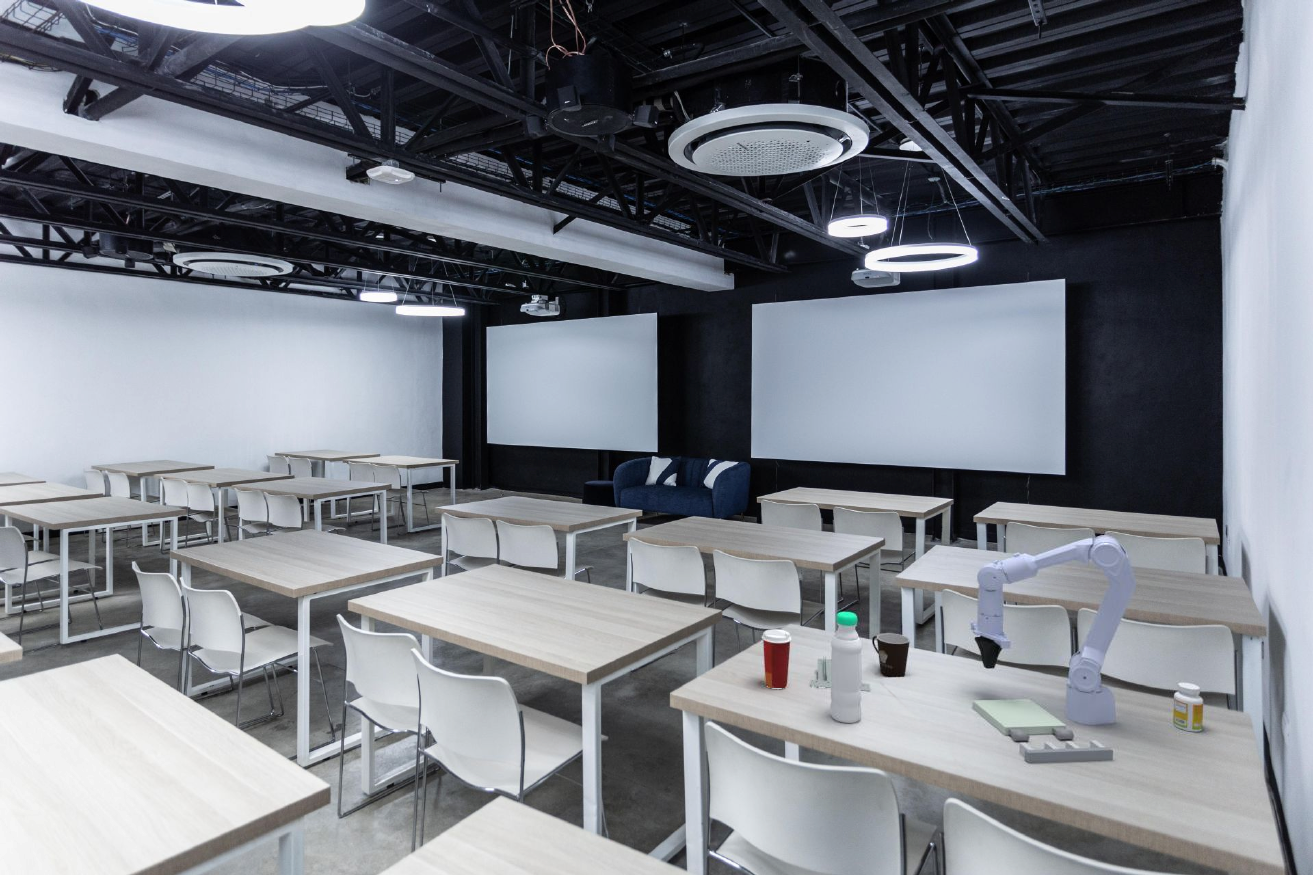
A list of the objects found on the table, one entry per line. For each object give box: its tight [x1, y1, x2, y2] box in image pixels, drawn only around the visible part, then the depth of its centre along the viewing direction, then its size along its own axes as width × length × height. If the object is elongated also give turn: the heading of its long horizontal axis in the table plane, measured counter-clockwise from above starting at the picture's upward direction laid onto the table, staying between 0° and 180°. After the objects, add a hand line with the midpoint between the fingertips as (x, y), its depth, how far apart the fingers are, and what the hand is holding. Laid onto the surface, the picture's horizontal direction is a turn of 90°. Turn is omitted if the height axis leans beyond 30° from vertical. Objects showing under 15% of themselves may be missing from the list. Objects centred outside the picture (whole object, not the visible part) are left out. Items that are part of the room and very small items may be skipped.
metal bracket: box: [810, 656, 871, 693], centre depth 189 cm, size 14×6×15 cm
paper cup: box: [761, 628, 792, 689], centre depth 186 cm, size 8×8×14 cm
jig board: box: [1018, 739, 1114, 764], centre depth 157 cm, size 18×26×4 cm
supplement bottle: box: [1172, 682, 1204, 733], centre depth 162 cm, size 5×5×10 cm
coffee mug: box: [871, 632, 911, 679], centre depth 195 cm, size 12×9×10 cm
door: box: [972, 698, 1075, 742], centre depth 161 cm, size 14×17×2 cm
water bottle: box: [829, 611, 863, 724], centre depth 167 cm, size 7×7×25 cm
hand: (989, 667), depth 174 cm, fingers closed
